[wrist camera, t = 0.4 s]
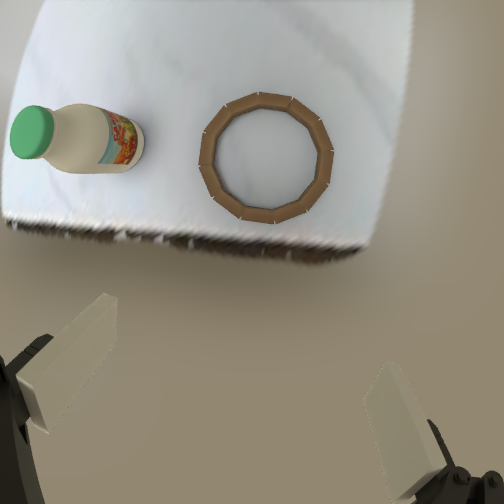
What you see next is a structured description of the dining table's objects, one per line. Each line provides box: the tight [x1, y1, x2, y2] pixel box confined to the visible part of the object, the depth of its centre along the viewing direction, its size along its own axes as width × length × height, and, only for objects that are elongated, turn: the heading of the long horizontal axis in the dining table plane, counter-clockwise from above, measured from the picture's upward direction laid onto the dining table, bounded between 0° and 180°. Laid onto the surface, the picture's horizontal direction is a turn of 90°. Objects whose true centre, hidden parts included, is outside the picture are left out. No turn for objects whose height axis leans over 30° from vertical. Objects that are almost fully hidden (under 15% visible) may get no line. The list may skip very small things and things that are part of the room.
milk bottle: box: [10, 104, 144, 174], centre depth 27 cm, size 8×8×20 cm
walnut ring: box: [198, 92, 334, 224], centre depth 36 cm, size 16×16×2 cm
